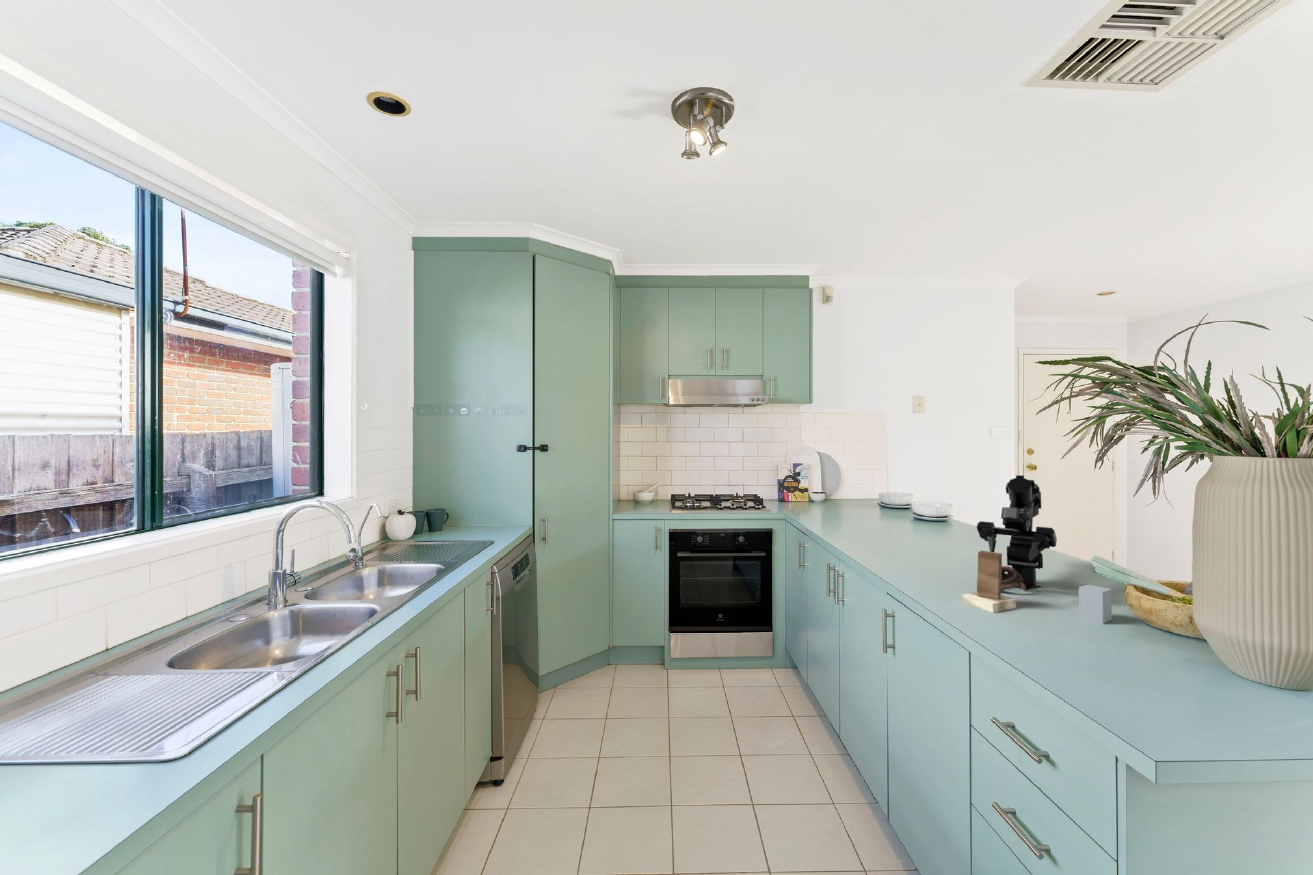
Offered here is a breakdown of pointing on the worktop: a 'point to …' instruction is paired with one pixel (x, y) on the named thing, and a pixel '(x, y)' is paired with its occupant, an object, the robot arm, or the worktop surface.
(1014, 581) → the pottery mug
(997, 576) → the walnut block
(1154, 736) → the worktop surface
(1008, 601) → the birch block
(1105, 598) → the grey block
